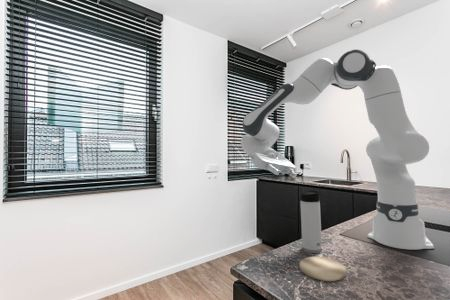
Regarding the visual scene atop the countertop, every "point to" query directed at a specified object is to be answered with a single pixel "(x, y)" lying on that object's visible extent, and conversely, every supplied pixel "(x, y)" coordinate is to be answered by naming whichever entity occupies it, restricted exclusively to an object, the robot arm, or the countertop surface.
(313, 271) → the gold round coaster
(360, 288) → the countertop surface
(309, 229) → the travel mug
